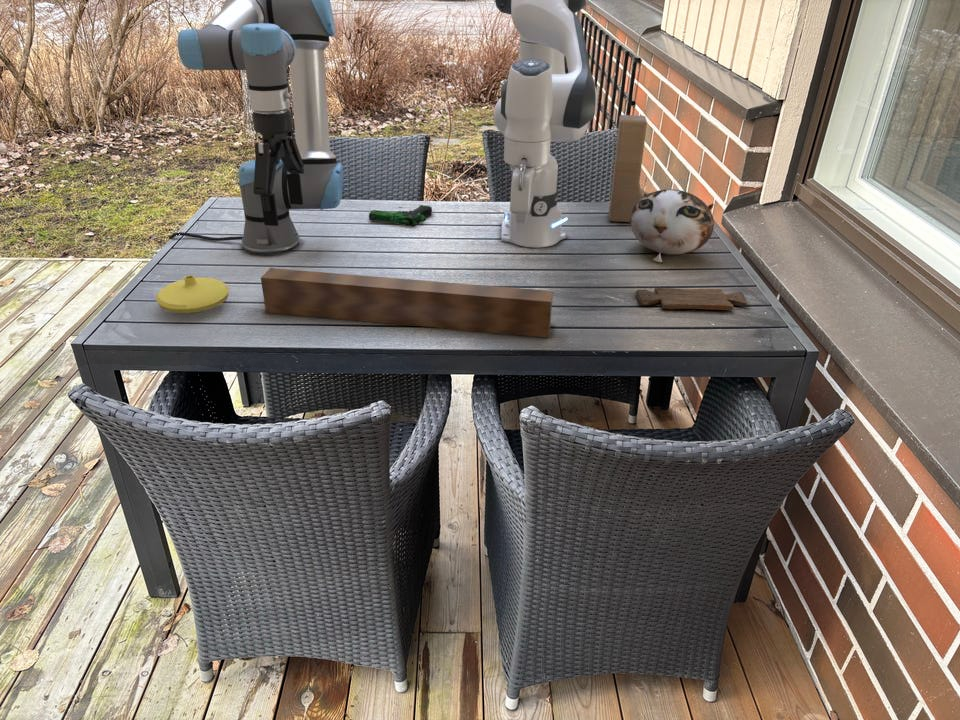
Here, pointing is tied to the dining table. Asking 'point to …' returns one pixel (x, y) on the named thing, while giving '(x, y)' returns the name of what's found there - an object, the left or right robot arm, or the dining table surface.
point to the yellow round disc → (192, 295)
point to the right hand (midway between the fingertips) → (523, 221)
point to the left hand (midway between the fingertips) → (284, 214)
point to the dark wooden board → (691, 298)
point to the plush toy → (672, 222)
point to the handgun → (402, 216)
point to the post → (408, 302)
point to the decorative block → (627, 167)
